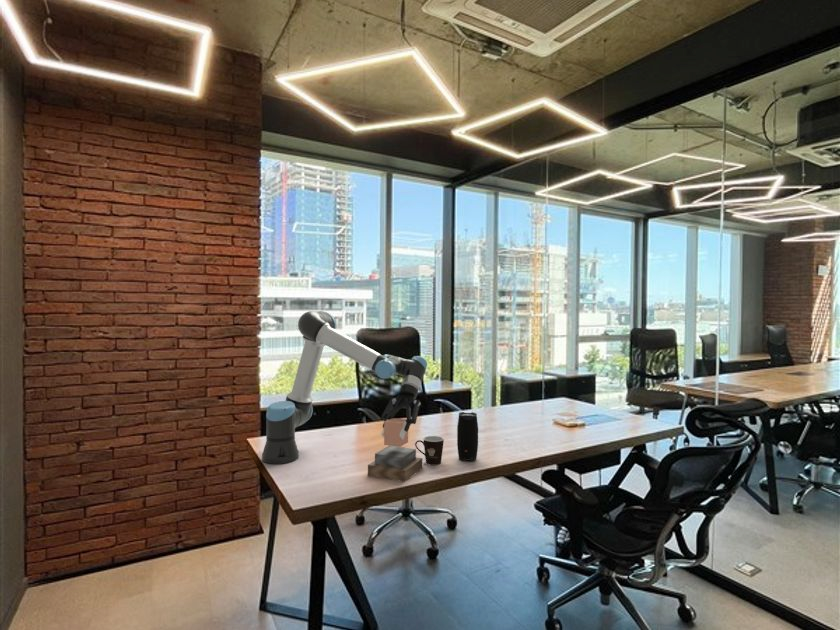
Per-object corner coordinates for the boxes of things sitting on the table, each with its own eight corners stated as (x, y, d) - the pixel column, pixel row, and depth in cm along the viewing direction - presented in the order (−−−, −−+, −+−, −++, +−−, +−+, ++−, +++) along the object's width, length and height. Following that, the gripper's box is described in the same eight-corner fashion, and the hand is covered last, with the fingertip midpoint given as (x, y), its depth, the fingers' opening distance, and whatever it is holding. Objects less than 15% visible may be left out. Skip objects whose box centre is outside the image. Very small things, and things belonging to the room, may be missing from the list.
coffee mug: (447, 462, 189) (448, 438, 189) (434, 467, 183) (434, 442, 183) (426, 456, 197) (427, 433, 197) (413, 461, 191) (413, 437, 191)
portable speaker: (471, 463, 188) (471, 416, 188) (452, 459, 194) (453, 413, 193) (482, 458, 195) (482, 413, 194) (463, 454, 200) (463, 410, 200)
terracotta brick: (384, 444, 176) (384, 421, 176) (392, 440, 182) (392, 418, 182) (400, 446, 173) (400, 423, 173) (408, 442, 179) (408, 419, 179)
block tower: (367, 475, 173) (367, 454, 173) (387, 462, 188) (387, 443, 188) (405, 481, 167) (405, 460, 167) (422, 468, 182) (422, 448, 182)
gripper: (434, 395, 188) (418, 444, 173) (391, 392, 196) (373, 439, 181) (429, 384, 183) (412, 434, 168) (385, 381, 191) (366, 428, 176)
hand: (392, 436), depth 174 cm, fingers closed on terracotta brick, 7 cm apart
